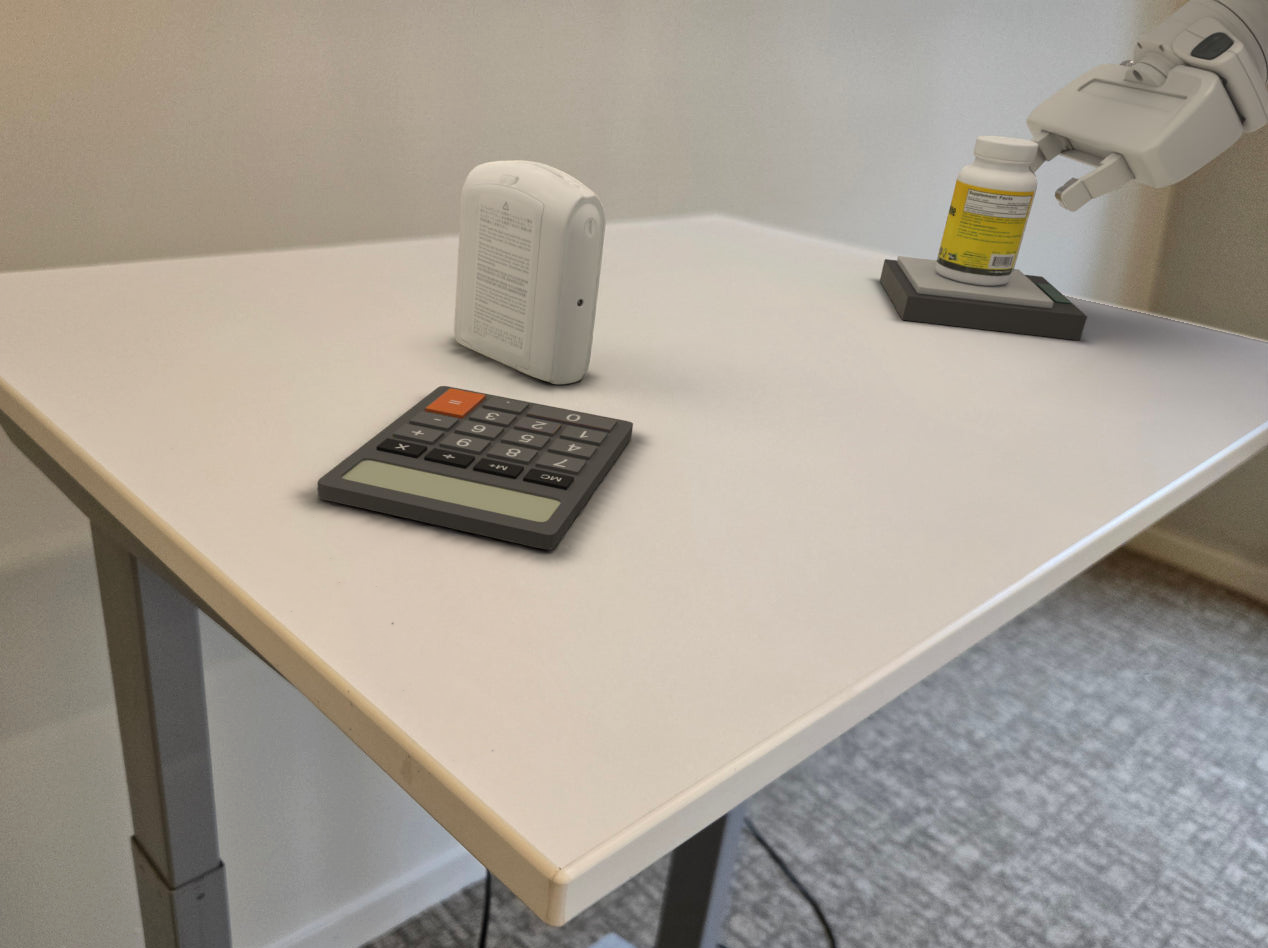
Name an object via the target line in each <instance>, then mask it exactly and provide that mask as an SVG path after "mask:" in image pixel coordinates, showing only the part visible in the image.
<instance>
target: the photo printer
mask: <svg viewBox="0 0 1268 948" xmlns="http://www.w3.org/2000/svg"><path fill="white" fill-rule="evenodd" d="M459 210H460V211H459V228H458V231H459V232H458V249H457V251H458V252H457V269H456V289H455V290H456V291H455V304H454V305H455V306H454V307H455V309H454V322H453V323H454V325H453V327H454V328H453V332H454V339H455V341H456V342H457V343H458V344H460V345H461V346H463V347H465V348H467V349H469V350H472V351H474V352H476V353H478V354H480V355H483V356H485V357H487V358H488V359H489V358H490V359H492V360H494V361H497V362H499V363H501V364H503V365H505V366H508V367H510V368H511V369H515V370H516V371H518V372H521V373H523V374H525V375H528V376H530V377H532V378H535V379H539V380H540V381H544V382H548V383H550V384H551V385H569V384H573V383H576V382H579V381H581V380H582V379H583V377H584V374H585V373H587V371H588V370H589V366H590V361H591V355H592V348H593V341H594V329H595V324H596V323H595V322H596V314H597V313H596V312H597V304H598V294H599V286H600V277H601V269H602V261H603V260H602V259H603V250H604V242H605V234H606V221H607V220H606V211H605V207H604V203H603V201H602V200H601V199H600V197H599V196H598V195H597V194H596V193H595V192H594V191H593V190H592V189H590V187H588V186H587V185H585V184H584V183H582V182H581V181H579V180H578V179H577V178H575V177H574V176H572V175H571V174H569V173H567V172H566V171H562V170H561V169H559V168H556V167H553V166H551V165H548V164H545V163H543V162H537V161H531V160H523V159H518V160H517V159H516V160H515V159H514V160H494V161H488V162H485V163H481V164H478V165H476V166H475V167H473V169H472V170H471V171H470V172H469V173H468V175H467V177H466V178H465V180H464V183H463V186H462V190H461V195H460V208H459Z"/></svg>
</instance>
